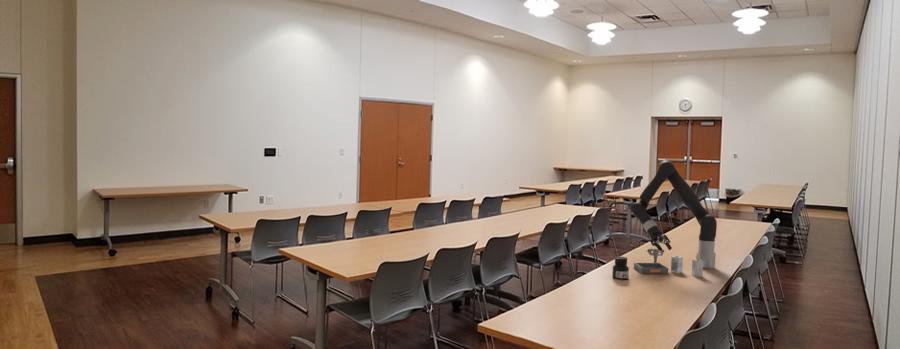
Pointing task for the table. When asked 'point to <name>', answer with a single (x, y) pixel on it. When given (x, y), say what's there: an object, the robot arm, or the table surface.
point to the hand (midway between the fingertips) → (666, 249)
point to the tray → (651, 268)
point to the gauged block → (697, 266)
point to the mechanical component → (655, 253)
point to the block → (676, 264)
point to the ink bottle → (620, 268)
